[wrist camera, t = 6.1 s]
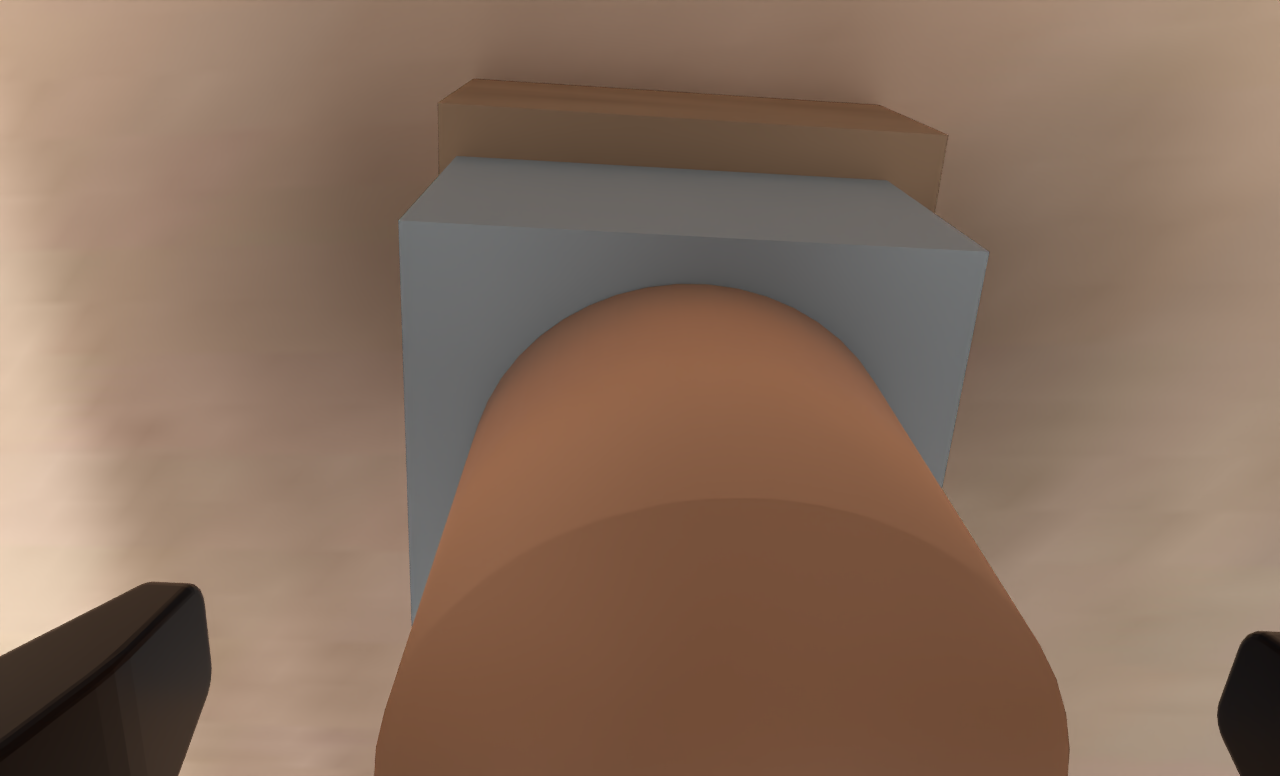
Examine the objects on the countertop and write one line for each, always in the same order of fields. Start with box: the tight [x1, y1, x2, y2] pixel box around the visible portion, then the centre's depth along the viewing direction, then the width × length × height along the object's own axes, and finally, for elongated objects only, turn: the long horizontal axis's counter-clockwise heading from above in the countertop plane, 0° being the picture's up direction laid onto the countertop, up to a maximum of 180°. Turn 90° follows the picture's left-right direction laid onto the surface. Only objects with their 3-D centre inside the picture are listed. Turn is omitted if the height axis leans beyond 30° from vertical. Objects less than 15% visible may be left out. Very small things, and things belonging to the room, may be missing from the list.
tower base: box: [438, 79, 948, 213], centre depth 17 cm, size 7×7×4 cm
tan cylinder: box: [374, 284, 1070, 776], centre depth 9 cm, size 5×5×4 cm
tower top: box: [398, 156, 989, 626], centre depth 13 cm, size 6×6×4 cm
